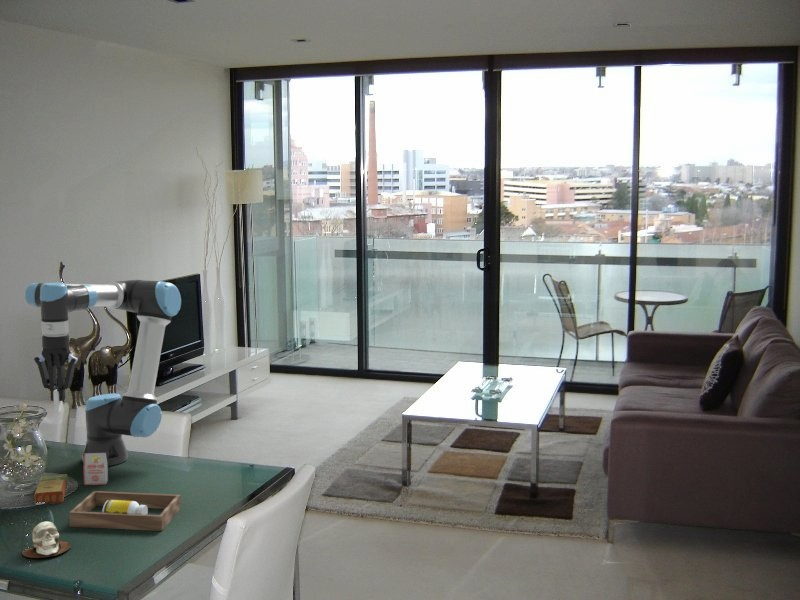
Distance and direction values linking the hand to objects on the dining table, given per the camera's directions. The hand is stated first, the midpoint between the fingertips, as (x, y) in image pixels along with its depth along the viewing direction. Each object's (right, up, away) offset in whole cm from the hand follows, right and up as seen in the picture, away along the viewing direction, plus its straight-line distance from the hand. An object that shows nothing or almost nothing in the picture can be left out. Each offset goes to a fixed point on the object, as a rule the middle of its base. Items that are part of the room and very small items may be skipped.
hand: (58, 410), depth 264 cm
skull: (+9, -34, -31) cm, 47 cm away
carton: (-5, -28, +9) cm, 30 cm away
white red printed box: (+5, -26, +20) cm, 33 cm away
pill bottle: (+18, -28, -12) cm, 35 cm away
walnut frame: (+23, -30, -8) cm, 39 cm away
